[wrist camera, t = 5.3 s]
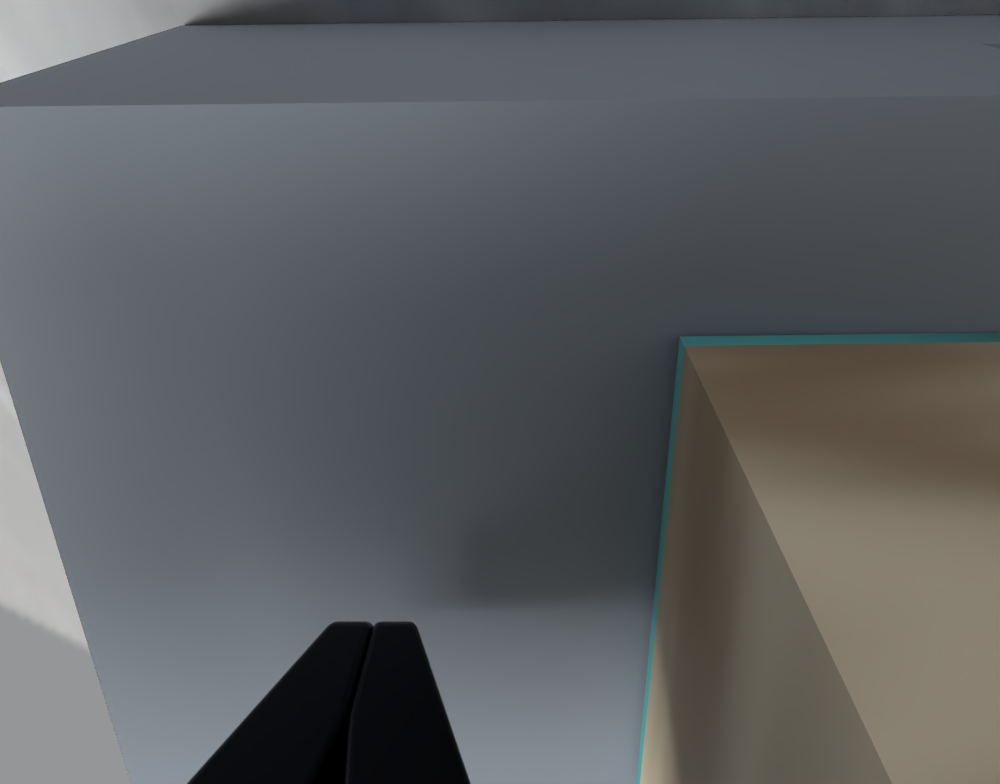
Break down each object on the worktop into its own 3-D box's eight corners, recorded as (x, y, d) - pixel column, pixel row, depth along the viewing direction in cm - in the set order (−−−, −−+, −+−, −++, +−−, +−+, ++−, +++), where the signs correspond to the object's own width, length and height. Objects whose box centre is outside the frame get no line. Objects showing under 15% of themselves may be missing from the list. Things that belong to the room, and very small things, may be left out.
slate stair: (273, 570, 18) (160, 879, 12) (181, 25, 13) (-78, 107, 7) (1219, 566, 17) (1565, 880, 12) (1478, 9, 13) (2272, 81, 7)
